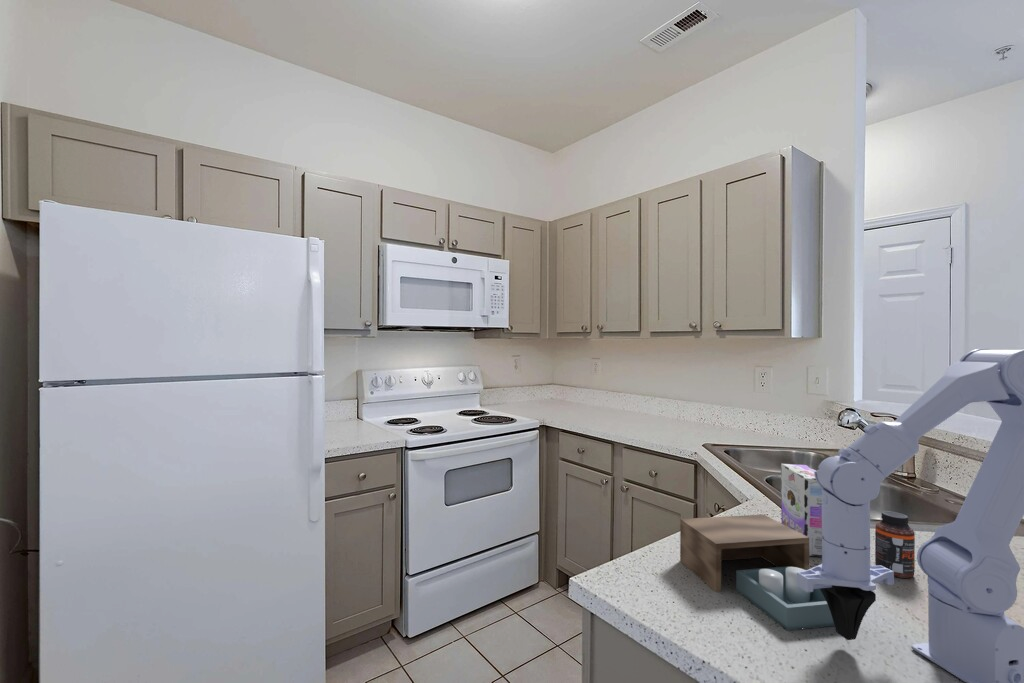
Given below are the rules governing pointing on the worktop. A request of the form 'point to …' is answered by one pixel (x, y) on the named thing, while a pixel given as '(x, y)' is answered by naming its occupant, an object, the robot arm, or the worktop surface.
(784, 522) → the candy box
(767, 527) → the shelf
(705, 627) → the worktop surface
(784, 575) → the tray
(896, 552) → the supplement bottle
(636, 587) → the worktop surface
